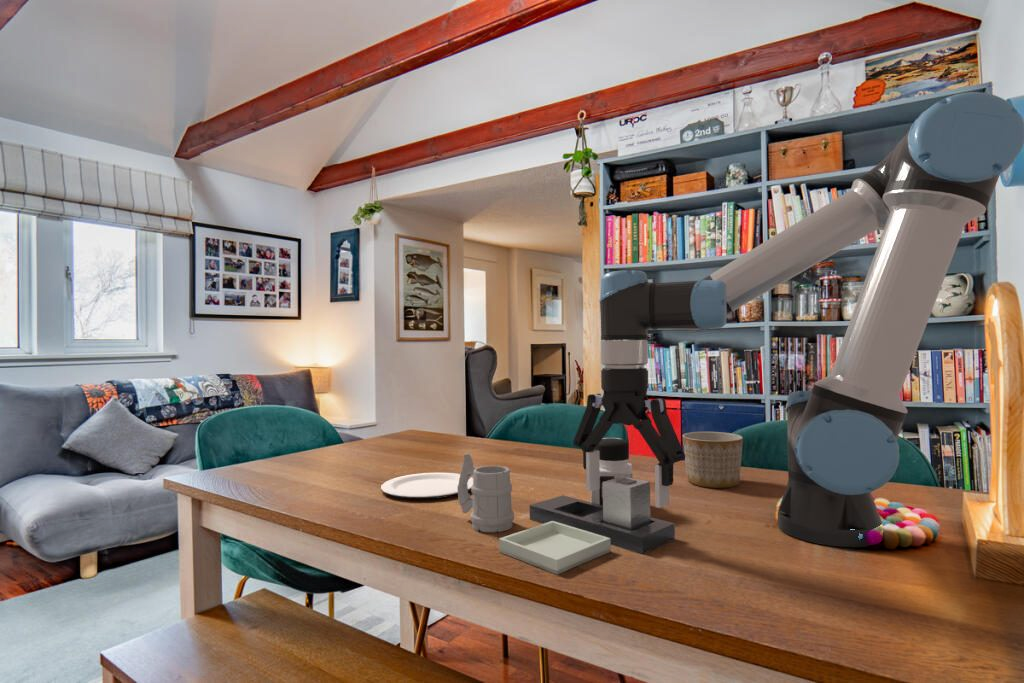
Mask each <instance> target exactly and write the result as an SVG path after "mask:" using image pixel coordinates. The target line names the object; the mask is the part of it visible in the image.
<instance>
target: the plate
mask: <svg viewBox="0 0 1024 683" xmlns="http://www.w3.org/2000/svg"><path fill="white" fill-rule="evenodd" d="M460 474H461V473H455V472H422V473H421V472H420V473H414V474H413V473H412V474H406V475H402V476H397V477H395V478H390V479H389V480H386V481H384V482H383V483H382V484H381V485H380V486H381V487H380V490H381V491H382V492H383V493H384V494H387V495H388V496H391V497H396V498H405V499H411V498H432V499H438V498H437V497H441V498H446V497H445V496H447V497H451V495H452V496H454V495H458V484H459V478H460ZM467 484H468V491H471V489H472V485H473V476H471V477H470V479H469V480H468V483H467Z"/></svg>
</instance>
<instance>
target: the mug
mask: <svg viewBox="0 0 1024 683" xmlns="http://www.w3.org/2000/svg"><path fill="white" fill-rule="evenodd" d="M462 458H463V461H462V462H463V463H462V466H461V471H460V473H459V474H460V478H459V484H458V494H457V496H458V497H457V499H458V500H457V501H458V504H459V506H460V507H461V508H460V509H461V511H462V513H463V514H467V513H469V511H470V510H471V509H472V510H471V511H472V512H470V518H469V519H470V522H471V523H472V529H474V530H475V531H480V532H483V533H497V532H498V533H501V532H506V531H507V530H510V529H512V528H513V522H514V520H515V512H514V511H513V510H512V509H513V508H512V505H513V504H512V491H513V485H512V483H511V472H510V471H511V470H510V468H508V467H507V466H504V465H503V466H502V465H488V466H487V465H483V466H479V467H474V461H473V459H472V456H471V455H470V453H468V452H466V453H464V454H463V457H462ZM470 477H472V478H473V485H472V489H470V491H471V494H472V497H471V495H470V493H469V490H468V484H467V483H468V480H469V479H470Z"/></svg>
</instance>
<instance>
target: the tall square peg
mask: <svg viewBox="0 0 1024 683" xmlns="http://www.w3.org/2000/svg"><path fill="white" fill-rule="evenodd" d="M650 517H651V481H647V480H644V479H643V480H642V479H637V478H628V477H623V476H622V477H618V478H615V479H612V480H608V481H605V482H603V523H605V524H608V525H612V526H615V527H619V528H623V529H626V530H630V531H633V530H636V529H638V528H641V527H643V526H646V525H648V524H651V520H650Z"/></svg>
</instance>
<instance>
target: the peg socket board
mask: <svg viewBox="0 0 1024 683" xmlns="http://www.w3.org/2000/svg"><path fill="white" fill-rule="evenodd" d="M529 520H532V521H536V522H538V523H542V524H544V523H547V522H550V521H555V522H558V523H561V524H565V525H568V526H571V527H575V528H578V529H581V530H585V531H588V532H591V533H595V534H598V535H601V536H605V537H608V538H610V540H611V545H612V546H615V547H618V548H622V549H626V550H629V551H631V552H635V553H638V554H642V555H643V554H646V553H648V552H650V551H652V550H655V549H657V548H659V547H660V546H663V545H665V544H667V543H669V542H672V541H674V540H675V539H676V530H675V529H676V528H675V527H676V526H675V524H676V523H674V522H670V521H667V520H662V519H659V518H655V517H651V516H650V520H651V524H648V525H646V526H643V527H641V528H638V529H636V530H633V531H630V530H626V529H623V528H619V527H615V526H612V525H608V524H605V523H603V505H599V504H595V503H591V501H587V500H583V499H579V498H575V497H571V496H568V495H567V496H566V495H559V496H556V497H552V498H550V499H546V500H541V501H539V502H536V503H532V504H529Z"/></svg>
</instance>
